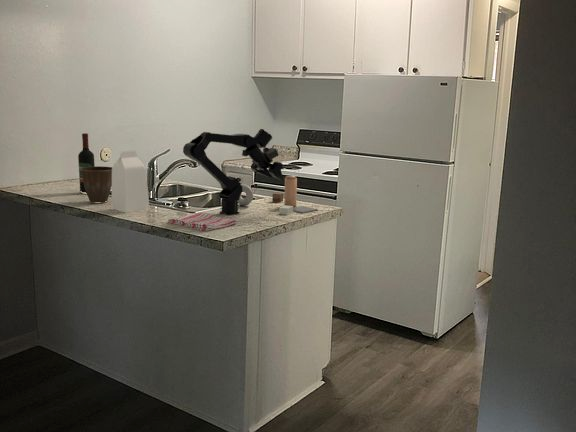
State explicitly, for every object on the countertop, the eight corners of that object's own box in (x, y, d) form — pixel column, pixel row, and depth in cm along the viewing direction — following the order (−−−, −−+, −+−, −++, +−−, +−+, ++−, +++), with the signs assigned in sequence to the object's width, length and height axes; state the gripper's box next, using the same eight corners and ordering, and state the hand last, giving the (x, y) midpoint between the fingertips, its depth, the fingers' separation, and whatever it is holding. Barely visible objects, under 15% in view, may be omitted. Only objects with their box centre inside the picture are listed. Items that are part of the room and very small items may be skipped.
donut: (254, 205, 282) (254, 184, 280) (251, 207, 279) (251, 185, 277) (236, 203, 286) (236, 182, 284) (232, 205, 283) (232, 183, 281)
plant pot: (109, 198, 294) (108, 165, 291) (119, 203, 282) (118, 169, 278) (78, 201, 286) (76, 167, 283) (87, 206, 274) (85, 171, 270)
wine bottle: (99, 192, 308) (96, 133, 302) (87, 194, 302) (83, 134, 296) (89, 191, 312) (86, 132, 306) (77, 193, 306) (73, 133, 300)
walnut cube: (280, 202, 292) (280, 194, 291) (272, 201, 293) (272, 193, 293) (283, 201, 296) (283, 193, 295) (275, 200, 297) (275, 192, 296)
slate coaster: (302, 213, 267) (302, 212, 267) (286, 209, 274) (286, 208, 274) (317, 210, 274) (318, 209, 274) (302, 207, 281) (302, 205, 281)
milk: (126, 213, 261) (123, 153, 255) (111, 209, 268) (108, 150, 263) (149, 209, 269) (147, 151, 264) (134, 205, 277) (132, 149, 272)
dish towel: (205, 233, 230) (205, 224, 230) (166, 223, 245) (166, 215, 244) (237, 226, 243) (237, 217, 242) (198, 217, 258) (198, 209, 257)
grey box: (287, 215, 264) (287, 208, 263) (279, 214, 266) (279, 207, 265) (293, 212, 269) (293, 206, 269) (284, 211, 271) (285, 205, 270)
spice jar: (290, 207, 280) (290, 177, 277) (281, 205, 284) (282, 176, 281) (298, 205, 284) (299, 176, 281) (290, 204, 288) (291, 175, 285)
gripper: (280, 144, 263) (299, 167, 271) (256, 140, 277) (275, 163, 286) (265, 163, 260) (285, 186, 268) (241, 158, 274) (261, 181, 283)
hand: (277, 178), depth 276 cm, fingers open, 9 cm apart
